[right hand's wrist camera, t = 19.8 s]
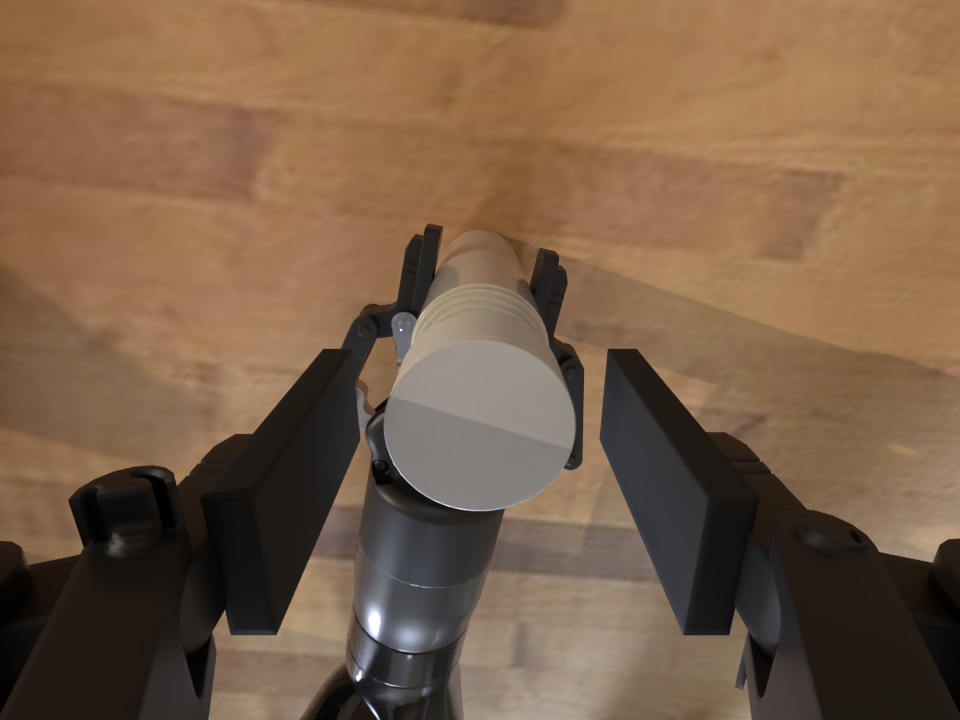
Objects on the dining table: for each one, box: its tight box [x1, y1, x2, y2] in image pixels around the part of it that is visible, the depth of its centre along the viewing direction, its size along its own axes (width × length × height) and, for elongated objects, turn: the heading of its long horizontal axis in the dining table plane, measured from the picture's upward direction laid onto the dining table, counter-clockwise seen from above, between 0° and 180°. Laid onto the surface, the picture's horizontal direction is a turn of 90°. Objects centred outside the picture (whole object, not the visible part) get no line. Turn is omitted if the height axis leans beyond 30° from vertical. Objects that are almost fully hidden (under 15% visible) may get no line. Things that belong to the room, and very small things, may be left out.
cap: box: [384, 313, 576, 511], centre depth 13 cm, size 5×5×2 cm
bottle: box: [411, 230, 549, 346], centre depth 22 cm, size 5×5×19 cm
